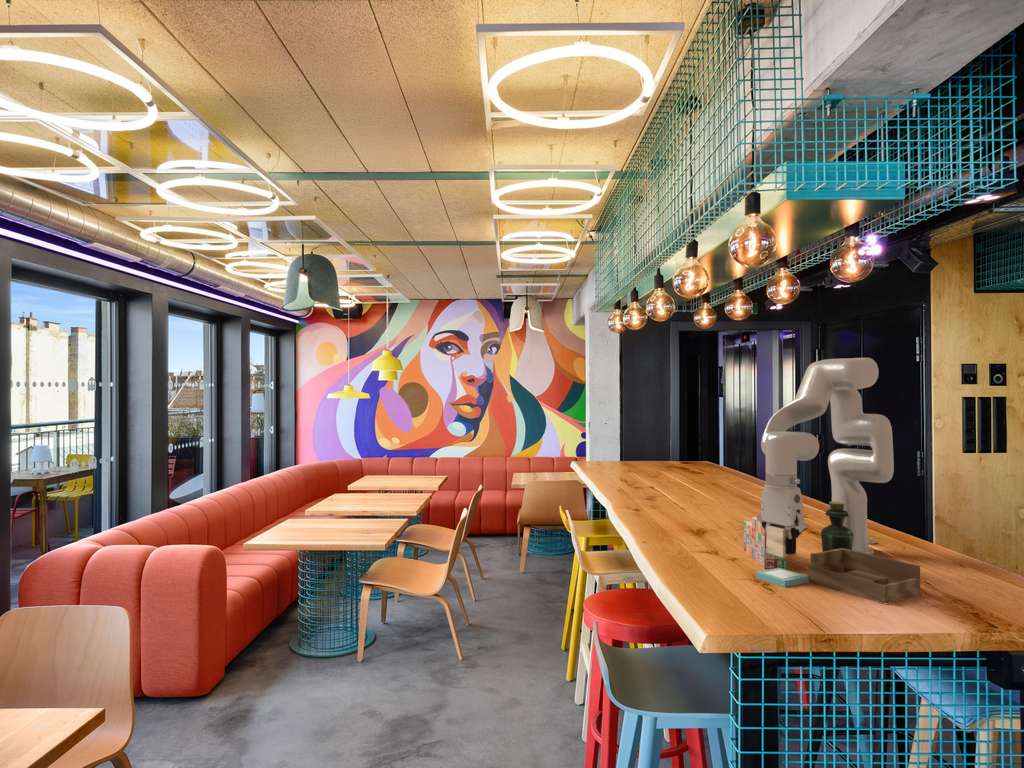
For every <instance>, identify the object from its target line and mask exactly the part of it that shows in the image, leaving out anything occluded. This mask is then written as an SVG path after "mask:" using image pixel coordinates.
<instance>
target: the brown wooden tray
mask: <svg viewBox="0 0 1024 768" xmlns="http://www.w3.org/2000/svg"><path fill="white" fill-rule="evenodd" d="M807 576H809V582H808V583H813V584H815V585H817V586H821V587H822V586H823V587H826V588H829V589H832V590H836V591H839V592H842V591H843V592H842V593H846V594H848V595H849V594H850V595H852V594H853V595H854V596H856V597H859V596H860V598H862V597H863V599H866V600H869V599H870V601H873V600H874V601H873V602H876V601H878V602H877V603H879V602H882V603H881V604H883V603H888V604H890V603H889V602H892V603H894V602H893V601H896V602H898V601H897V600H900V601H902V600H901V599H904V600H906V599H905V598H908V599H911V598H914V596H915V597H919V596H921V565H918V564H917V565H916V564H913V563H908V562H904V561H900V560H896V559H892V558H887V557H882V556H878V555H874V554H873V555H870V554H866V553H862V552H857V551H853V550H849V549H844V548H840V549H834V550H829V551H823V550H822V551H818V552H812V553H810V565H807ZM918 595H919V596H918ZM910 597H911V598H910Z"/></svg>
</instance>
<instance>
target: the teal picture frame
mask: <svg viewBox="0 0 1024 768" xmlns="http://www.w3.org/2000/svg"><path fill="white" fill-rule="evenodd" d="M755 579H758V580H761V581H763V582H767V583H770V584H774V585H777V586H780V587H783V588H788V587H792V586H797V585H801V584H806V583H810V582H809V576H808V575H806V574H805V575H804V574H801V573H798V572H794V571H791V570H788V569H787V570H785V569H781V568H775V569H764V570H759V571H756V572H755Z"/></svg>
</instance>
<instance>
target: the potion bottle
mask: <svg viewBox="0 0 1024 768" xmlns="http://www.w3.org/2000/svg"><path fill="white" fill-rule="evenodd" d="M828 503H829V508H830V509H826V510H825V514H824V515H826V516H827V517H828V518H829V520H830V521H829V522H830V524H829V525H827V526H825V527H823V528H822V530H821V532H820V537H821V546H822V547H821V548H822V552H823V551H829V550H834V549H840V548H844V549H849V550H852V545H853V533H852V531H851V530H849V529H848V528H846V527H844V526H843V522H844V518H845V517H848V516H849V515H848V512H847V511H844V510H843V507H844V503H842V502H832V501H829V502H828Z"/></svg>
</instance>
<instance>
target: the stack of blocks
mask: <svg viewBox="0 0 1024 768" xmlns="http://www.w3.org/2000/svg"><path fill="white" fill-rule="evenodd" d="M742 524H743V525H742V528H743V530H742V531H743V550H744V552H745V551H746V552H745V553H746V554H747V553H748V554H749V557H750V558H752V559H753V560H754V559H755V560H756V561H757V562H758V563H759V564H760V565H761V566H760V565H759V564H758V563H757V562H756V561H755V560H754V561H755V562H756V563H757V564H758V565H759V566H760V567H761V568H762V567H763V568H762V569H764V570H770V569H775V568H781V569H785V570H788V557H780V556H776V555H772V554H768V553H767V534H766V533H765V529H764V528H763V527H762V525H761V523H760V522H759V521H758V520H757V516H752V517H751V520H749V521H748V520H743V522H742ZM748 554H747V555H748Z"/></svg>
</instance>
